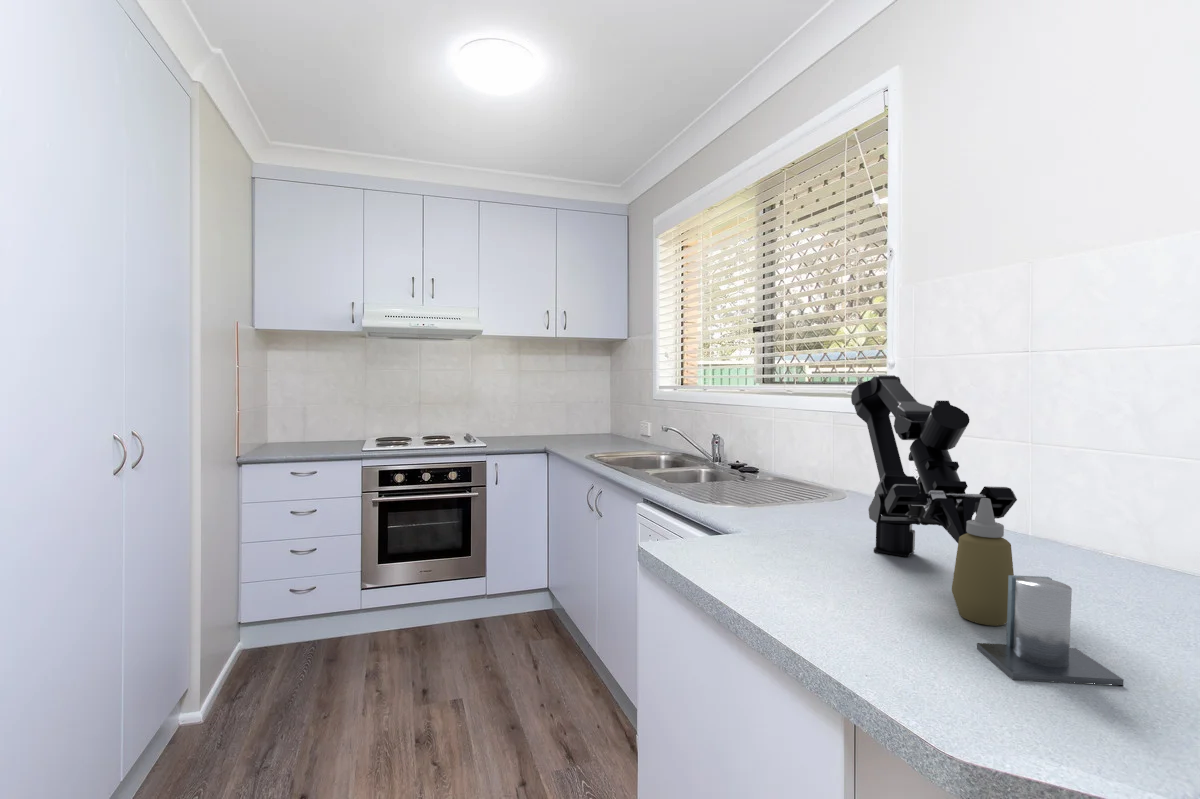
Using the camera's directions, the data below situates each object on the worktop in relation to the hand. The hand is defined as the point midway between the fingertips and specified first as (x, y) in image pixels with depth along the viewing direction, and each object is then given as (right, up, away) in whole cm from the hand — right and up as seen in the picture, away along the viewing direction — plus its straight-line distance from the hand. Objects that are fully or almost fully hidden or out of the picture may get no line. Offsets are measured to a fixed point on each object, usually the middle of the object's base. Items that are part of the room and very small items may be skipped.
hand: (965, 546), depth 92 cm
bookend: (-2, -10, -19) cm, 22 cm away
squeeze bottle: (-1, -10, -5) cm, 11 cm away
